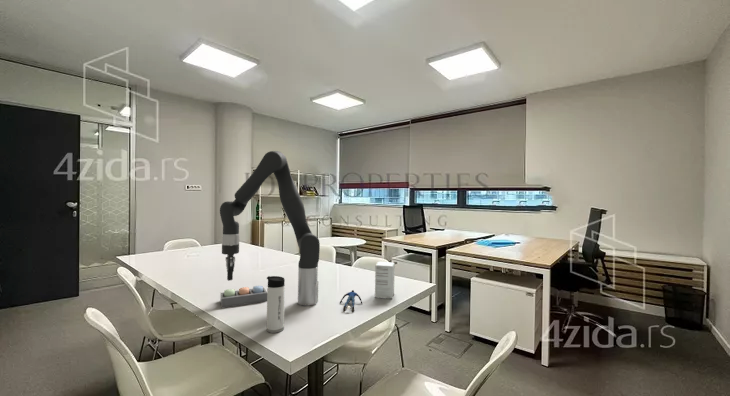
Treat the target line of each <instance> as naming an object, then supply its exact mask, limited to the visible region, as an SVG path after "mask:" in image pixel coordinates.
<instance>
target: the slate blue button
mask: <svg viewBox="0 0 730 396" xmlns="http://www.w3.org/2000/svg"><path fill="white" fill-rule="evenodd" d="M263 287H264V286H263V285H254V286H253V287H252V289H253V293H260V292H263Z"/></svg>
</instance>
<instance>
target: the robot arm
mask: <svg viewBox="0 0 730 396" xmlns="http://www.w3.org/2000/svg"><path fill="white" fill-rule="evenodd" d="M273 174H274V177H275V178H276V181H277V184H278V185H277V186H278V187H277V188H278V195H279V199H280V203H281V205H282V208H283V211H284V213H285V214H286V217H287V219H288V221H289V223H290V225H291V227H292V229H293V232H294V235H295V238H296V240H295V241H296V243H297V247H298V248H299V249H300V250H299V251H300V252H299V260H298V270H297V271H298V272H297V305H300V306H312V305H314V306H315V305H317V303H318V301H319V281H318V278H319V277H318V276H319V274H318V273H319V272H318V271H319V268H318V267H319V265H318V264H319V262H320V240H319V238H318V236H317V235H315V234H313V233H312V230H311V228H310V226H309V224H308V222H307V217H306V210H305V207H304V202H303V200H302V198H301V195H300V193H299V191H298V188H297V185H296V184H295V182H294V179H293V177H292V174H291V169H290V167H289V164H288V160H287V157H286V155H285V154H284V152H282V151H280V150H279V151H278V150H271V151H267V152H265V154H264V156H263V157H262V158H261V160H260V162H259V163H258V165H257V166H256V168H255V169H254V171H253V172H252V174H251V175H250V176H249V177H248V178H247V180H246V181H244V182H243V184H242V185H241V186H240V187H239V188H238V189H237V190H236V192H235V193H234V198H235V199H234V200H232V201H224V202H222V203H221V205H220V207H219V215H220V220H221V223H222V236H221V254H222V255H227V256H226V257H225V267H226V273H227V274H226V275H227V277H226V278H227V279H226V280H227V281H232V280H233V279H234V278H233V276H234V275H233V273H234V272H235V271H234V270H235V262H236V257H235V256H234V255H237V254H239V253H240V223H239V222H238V221H235V217H237V216H239V215H241V214H242V213H243V212H244V210H245V209H246V206H247V204H249V202H250V201H251V199H252V198H254V196H255V195H256V194H257V192H258V191H259V190H260V189H261V186H262V184H263V183H264V182H265V181H266V180H267V179H268V178H269V177H270V176H271V175H273Z"/></svg>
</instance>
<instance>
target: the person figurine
mask: <svg viewBox="0 0 730 396" xmlns="http://www.w3.org/2000/svg"><path fill="white" fill-rule="evenodd" d="M347 296H348V297H347ZM346 297H347V299H346V302H345V303H344V305H343V308H342V309H343V310H342V311H343V312H344V311H346V310H347V311H348V310H349V311H350V310H351V312H352V313H354V312H355V298H356V297H358V299H359V301H360V304H361V305H363V301H362V298H361V296H360V295H359V294H358V293H357V292H355V291H354V289H353V290H351V291H348V292H346V293H345V294H344V295H343V296H342V298H341V299H340V301H339V304H342V303H343V300H344V299H345V298H346ZM350 302H351V304H352V306H350V305H348V304H349V303H350ZM347 305H348V306H347ZM351 307H352V308H351Z"/></svg>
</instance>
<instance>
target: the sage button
mask: <svg viewBox="0 0 730 396" xmlns="http://www.w3.org/2000/svg"><path fill="white" fill-rule="evenodd" d="M235 291H236V289H233V288H228V289H225V290H224V291H223V292H224V297H229V296H235Z"/></svg>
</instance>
